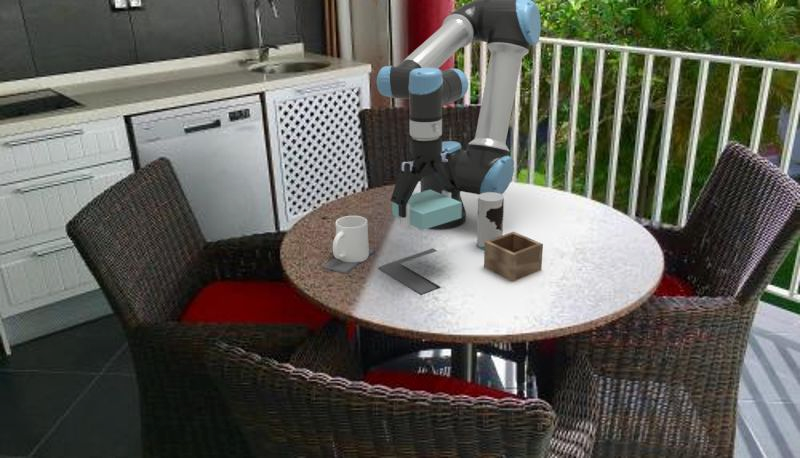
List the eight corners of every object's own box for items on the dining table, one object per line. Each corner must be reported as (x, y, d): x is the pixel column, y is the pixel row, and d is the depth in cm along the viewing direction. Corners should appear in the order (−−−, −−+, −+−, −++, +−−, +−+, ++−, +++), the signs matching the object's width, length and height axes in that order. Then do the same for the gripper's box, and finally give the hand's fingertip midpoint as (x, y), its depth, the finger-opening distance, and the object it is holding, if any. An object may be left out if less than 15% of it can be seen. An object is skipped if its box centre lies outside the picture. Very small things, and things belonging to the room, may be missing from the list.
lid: (392, 219, 168) (391, 200, 166) (430, 208, 174) (430, 189, 172) (422, 234, 159) (422, 214, 157) (461, 222, 165) (461, 202, 163)
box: (483, 270, 171) (484, 241, 168) (512, 259, 177) (513, 231, 173) (512, 285, 164) (513, 255, 161) (541, 273, 169) (543, 244, 166)
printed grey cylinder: (506, 251, 181) (508, 199, 175) (483, 256, 179) (485, 202, 173) (494, 242, 187) (496, 190, 181) (472, 246, 185) (473, 194, 179)
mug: (347, 272, 172) (344, 235, 168) (322, 264, 177) (319, 228, 173) (375, 255, 181) (373, 219, 177) (351, 248, 186) (348, 213, 182)
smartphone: (320, 266, 175) (352, 244, 187) (321, 269, 175) (352, 247, 187) (345, 272, 171) (376, 249, 183) (345, 276, 172) (376, 252, 184)
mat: (377, 268, 174) (377, 267, 174) (432, 249, 184) (432, 248, 183) (421, 294, 161) (421, 293, 160) (478, 273, 170) (478, 271, 170)
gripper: (393, 149, 149) (395, 239, 157) (475, 130, 162) (473, 215, 170) (373, 142, 155) (377, 230, 163) (455, 125, 168) (454, 206, 176)
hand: (426, 222), depth 167 cm, fingers closed on lid, 12 cm apart
